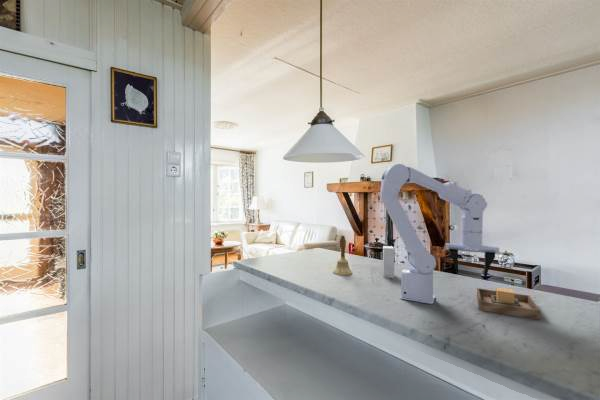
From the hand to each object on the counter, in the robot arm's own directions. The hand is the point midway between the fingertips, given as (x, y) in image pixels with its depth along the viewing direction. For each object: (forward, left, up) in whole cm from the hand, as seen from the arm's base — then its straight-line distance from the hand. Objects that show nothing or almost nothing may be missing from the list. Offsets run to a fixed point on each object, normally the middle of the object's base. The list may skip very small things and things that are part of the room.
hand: (470, 274), depth 92 cm
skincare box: (-29, +16, -9) cm, 34 cm away
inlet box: (+9, 0, -8) cm, 12 cm away
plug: (+9, 0, -8) cm, 12 cm away
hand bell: (-47, +11, -9) cm, 49 cm away
